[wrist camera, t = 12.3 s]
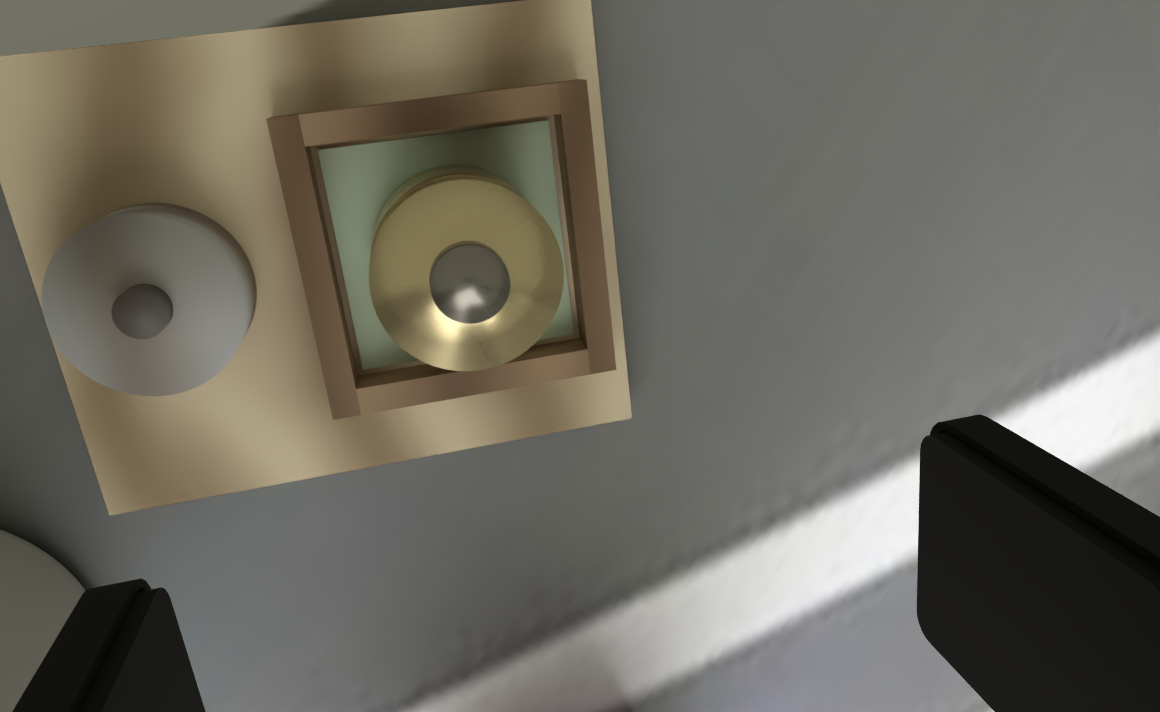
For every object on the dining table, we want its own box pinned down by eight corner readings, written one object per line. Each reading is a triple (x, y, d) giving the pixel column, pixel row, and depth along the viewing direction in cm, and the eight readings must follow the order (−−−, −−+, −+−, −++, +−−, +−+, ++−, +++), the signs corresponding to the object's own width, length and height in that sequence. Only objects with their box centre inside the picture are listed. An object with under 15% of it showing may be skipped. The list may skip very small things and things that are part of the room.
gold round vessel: (526, 153, 31) (555, 170, 26) (548, 313, 33) (579, 361, 28) (356, 177, 30) (348, 200, 25) (389, 341, 32) (388, 395, 27)
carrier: (581, -4, 31) (613, -16, 27) (622, 404, 37) (654, 451, 32) (-19, 61, 28) (-96, 59, 24) (121, 497, 34) (79, 562, 29)
